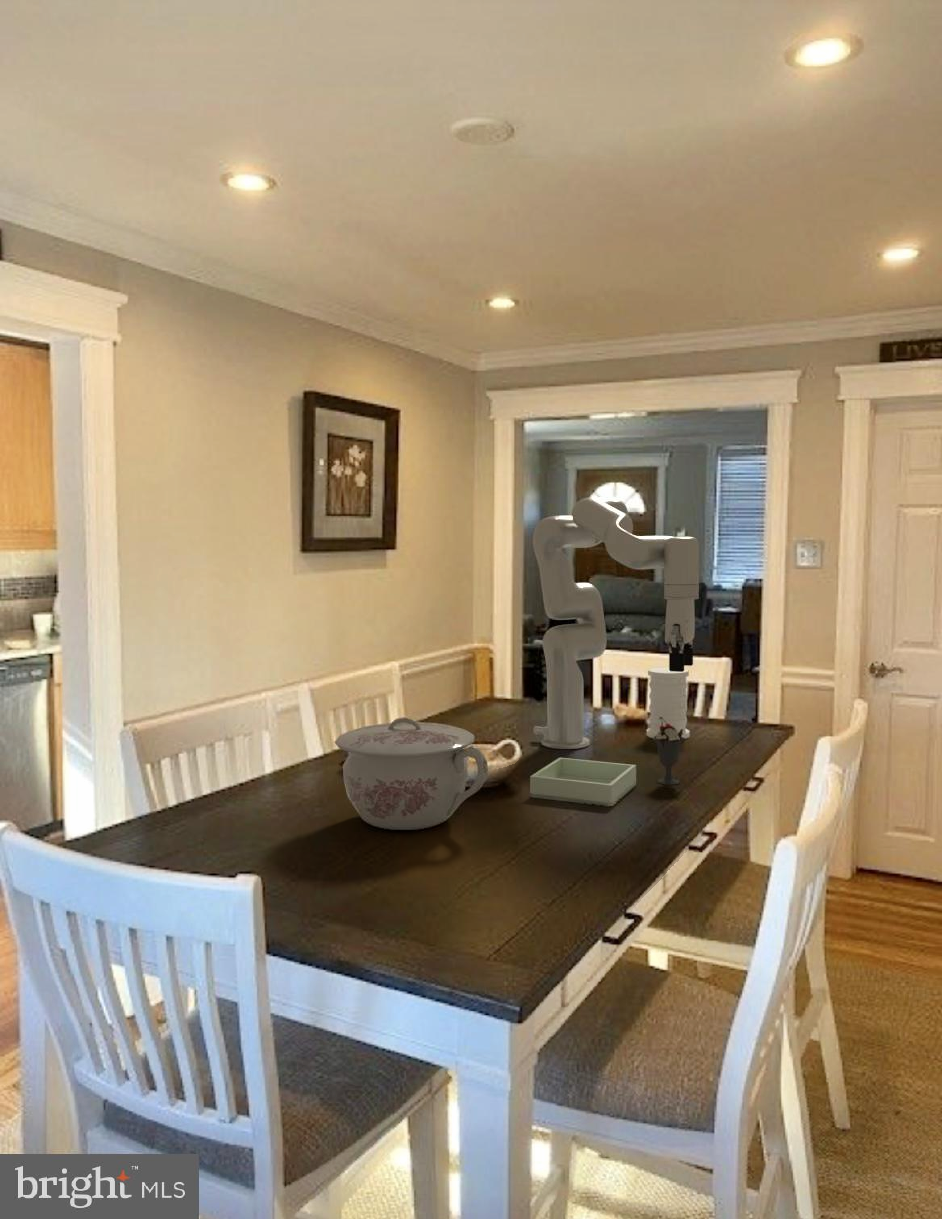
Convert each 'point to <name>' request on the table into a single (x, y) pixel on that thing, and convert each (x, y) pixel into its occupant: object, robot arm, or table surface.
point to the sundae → (668, 750)
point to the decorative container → (668, 700)
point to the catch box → (583, 781)
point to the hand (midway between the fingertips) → (681, 668)
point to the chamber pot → (409, 772)
